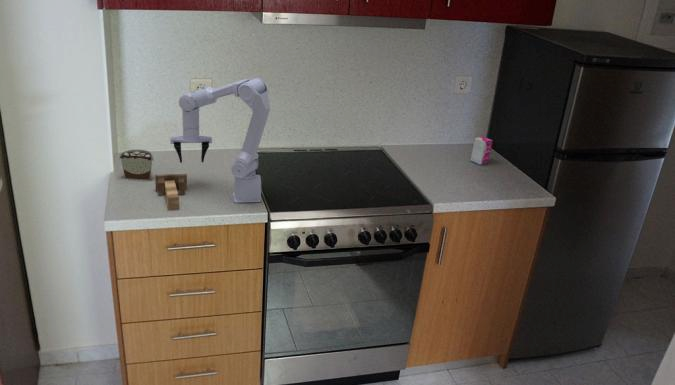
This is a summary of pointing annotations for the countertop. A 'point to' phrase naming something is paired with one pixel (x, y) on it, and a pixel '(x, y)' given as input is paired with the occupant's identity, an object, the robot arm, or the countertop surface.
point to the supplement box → (481, 150)
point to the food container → (137, 164)
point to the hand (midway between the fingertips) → (191, 161)
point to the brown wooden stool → (178, 178)
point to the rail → (171, 195)
